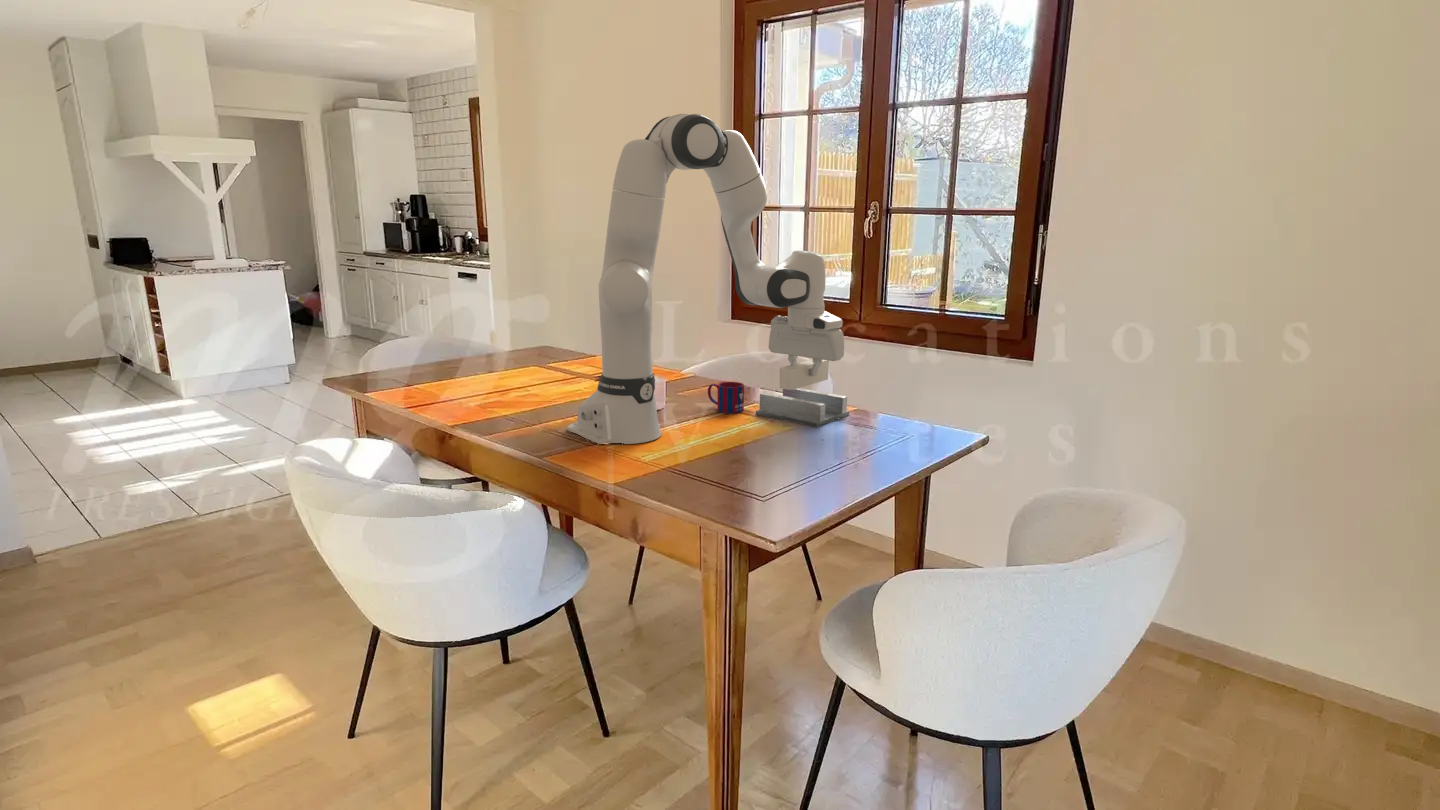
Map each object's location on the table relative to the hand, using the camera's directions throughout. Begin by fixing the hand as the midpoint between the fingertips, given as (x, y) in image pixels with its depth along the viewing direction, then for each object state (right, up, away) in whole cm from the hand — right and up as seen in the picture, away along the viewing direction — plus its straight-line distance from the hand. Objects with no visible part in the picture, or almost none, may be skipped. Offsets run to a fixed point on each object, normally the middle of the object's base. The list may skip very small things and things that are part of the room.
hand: (804, 374), depth 193 cm
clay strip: (0, -2, +1) cm, 2 cm away
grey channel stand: (0, -10, +2) cm, 10 cm away
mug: (-20, -9, +7) cm, 23 cm away
